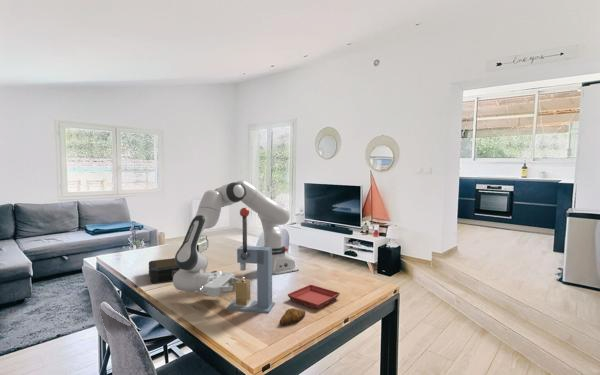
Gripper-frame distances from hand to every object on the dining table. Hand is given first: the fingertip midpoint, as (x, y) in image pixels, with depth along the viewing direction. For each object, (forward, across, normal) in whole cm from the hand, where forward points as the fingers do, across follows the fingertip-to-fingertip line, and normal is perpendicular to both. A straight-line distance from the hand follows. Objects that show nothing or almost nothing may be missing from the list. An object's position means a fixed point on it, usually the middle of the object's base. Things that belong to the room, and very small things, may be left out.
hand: (236, 284), depth 148 cm
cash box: (-50, +32, +10) cm, 60 cm away
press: (+7, -1, +9) cm, 11 cm away
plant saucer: (+33, +12, +10) cm, 36 cm away
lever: (+6, -6, -13) cm, 16 cm away
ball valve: (-49, +59, +9) cm, 77 cm away
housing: (+3, 0, +8) cm, 9 cm away
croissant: (+28, -10, +9) cm, 31 cm away
